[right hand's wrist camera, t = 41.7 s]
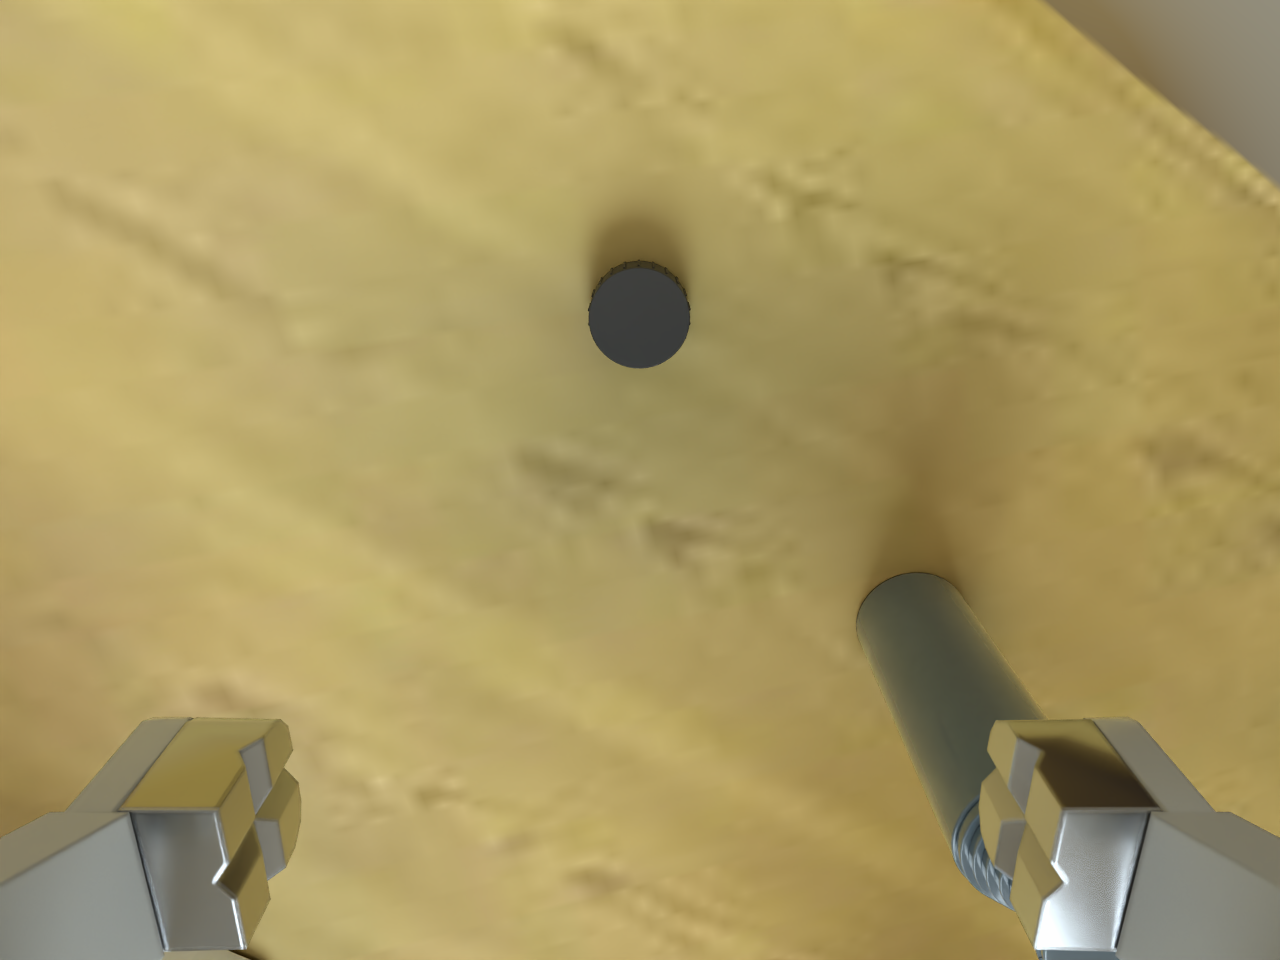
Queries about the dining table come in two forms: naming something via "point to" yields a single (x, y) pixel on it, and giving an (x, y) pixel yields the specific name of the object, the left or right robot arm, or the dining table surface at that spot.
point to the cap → (639, 314)
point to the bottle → (948, 710)
